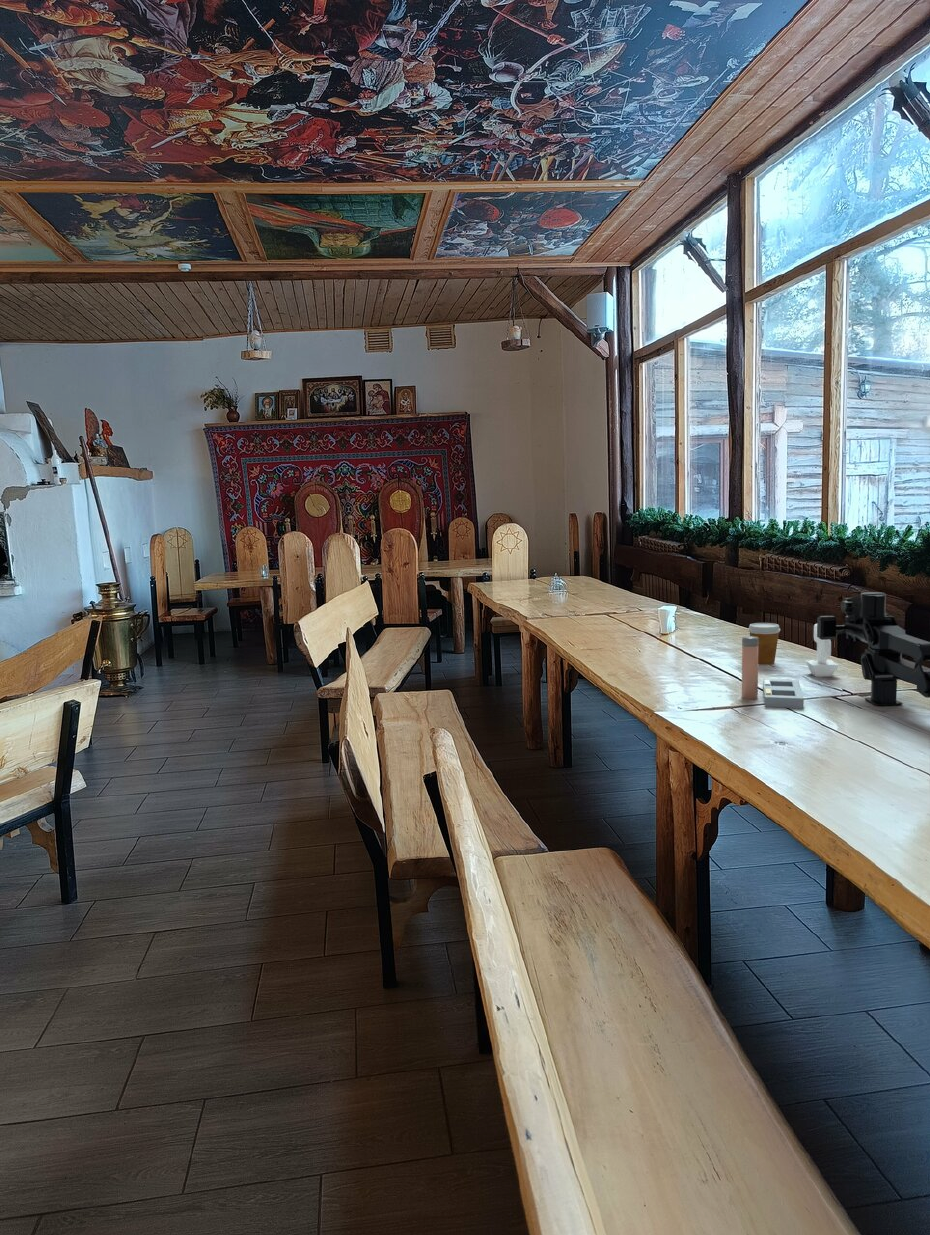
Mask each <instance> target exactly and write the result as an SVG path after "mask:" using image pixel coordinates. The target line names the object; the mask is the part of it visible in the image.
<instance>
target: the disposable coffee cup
mask: <svg viewBox="0 0 930 1235" xmlns="http://www.w3.org/2000/svg"><path fill="white" fill-rule="evenodd" d="M747 630H748V632H749V636H753V637H758V665H763V666H765V665H766V666H767V665H773V664H775V662H776V661H775V660H776V653H777V646H778V640H779V634H780V632H781V628H780V625H779V623H778V624H777V623H773V622H755V623H750V624H749V626H748V628H747Z"/></svg>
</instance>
